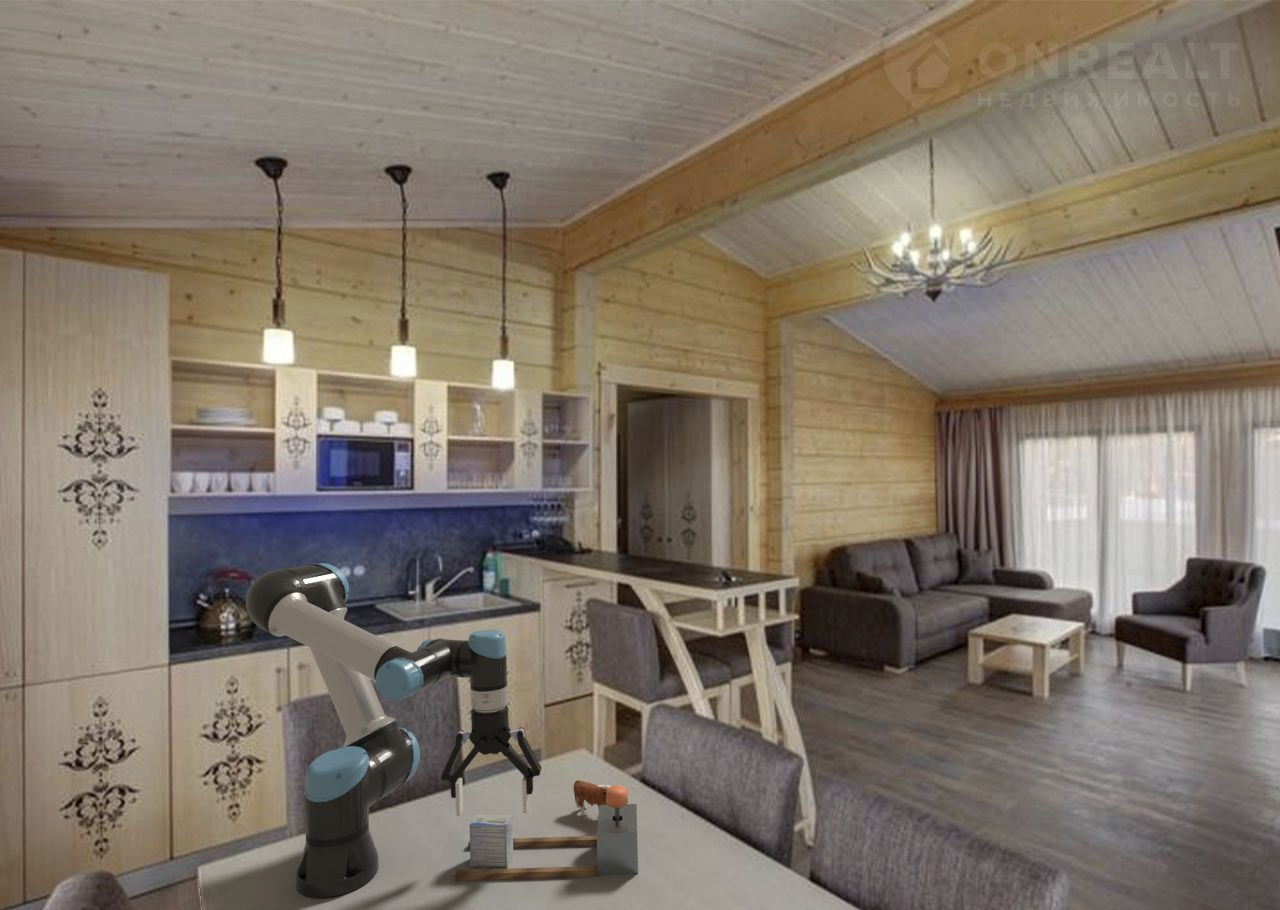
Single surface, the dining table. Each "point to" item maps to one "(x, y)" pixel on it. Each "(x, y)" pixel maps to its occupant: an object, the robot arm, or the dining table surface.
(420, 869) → the dining table surface
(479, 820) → the medicine box
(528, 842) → the track
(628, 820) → the end cabinet
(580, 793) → the bull figurine
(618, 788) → the gauge button
